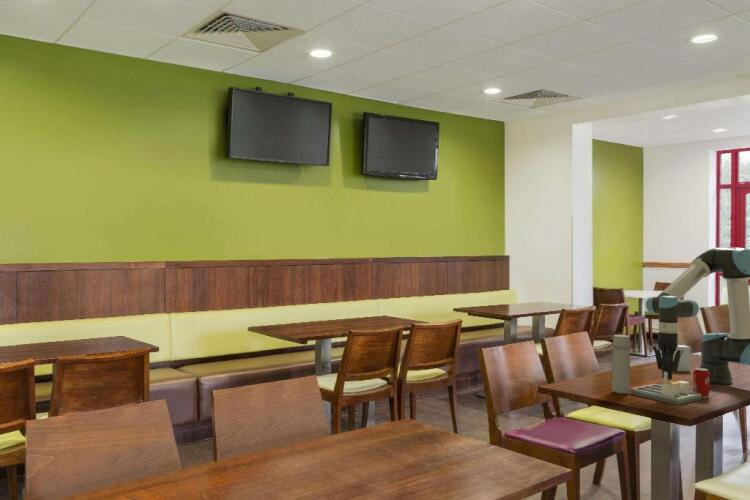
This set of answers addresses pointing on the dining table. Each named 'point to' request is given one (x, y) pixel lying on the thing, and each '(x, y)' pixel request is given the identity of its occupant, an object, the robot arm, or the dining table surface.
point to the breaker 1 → (668, 389)
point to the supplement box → (684, 358)
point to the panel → (655, 393)
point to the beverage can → (701, 382)
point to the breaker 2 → (684, 387)
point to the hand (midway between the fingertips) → (667, 386)
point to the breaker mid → (677, 387)
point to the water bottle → (620, 364)
